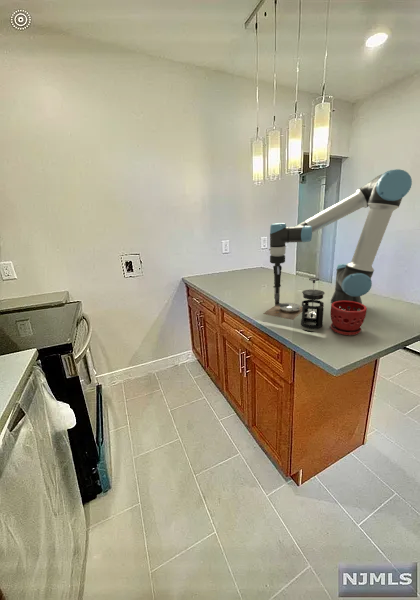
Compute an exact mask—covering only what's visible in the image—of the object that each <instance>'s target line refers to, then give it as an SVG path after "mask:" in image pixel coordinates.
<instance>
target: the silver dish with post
mask: <svg viewBox="0 0 420 600" xmlns="http://www.w3.org/2000/svg"><path fill="white" fill-rule="evenodd" d="M280 296H281V295H280V294H275V299H274V306H280V310H281V311H283V312H287V313H295V312H298V311H299V310H300V307H301V306H300V305H299V304H298V303H294V302H283V303H282V302H280V299H279V298H280Z"/></svg>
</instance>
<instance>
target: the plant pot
mask: <svg viewBox="0 0 420 600" xmlns="http://www.w3.org/2000/svg"><path fill="white" fill-rule="evenodd" d="M340 306H341V307H340ZM348 306H350V307H351V308H350V309H348V308H347V307H348ZM354 308H356V309H355V310H354ZM358 308H359V309H360V310H359V309H358ZM344 309H345V310H344ZM367 309H368V307H367V306H366V305H364V303H362V304H361V303H358V302H354V301H336V302H333V303H330V320H331V323H330V328H331V330H332V331H333V332H335V333H337V334H340V335H343V336H355V335H358V334H360V332H361V330H362V328H361V327H362V325H363V324H364V322H365V319H366V316H367Z"/></svg>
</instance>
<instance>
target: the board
mask: <svg viewBox="0 0 420 600" xmlns="http://www.w3.org/2000/svg"><path fill="white" fill-rule="evenodd" d="M301 314H302V306H300V310H299V311H298V312H295V313H287V312H283V311H281V310H280V306H275V305H273V306H272V307H270V308H269V309H267V310H266V311H264V312H263V315H267V316H272V317H276V318H280V319H281V318H282V319H288V320H292V321H294V319H295V318H297V317H298V316H299V315H301Z"/></svg>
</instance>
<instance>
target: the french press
mask: <svg viewBox="0 0 420 600" xmlns="http://www.w3.org/2000/svg"><path fill="white" fill-rule="evenodd" d="M308 280H309V281H312V289H305V290H302V292H301V293H302V297H303V299H305V300H301V301H302V302H301V307H302V312H301V320H300V325H301V327H303V328H305V329H303V328H301V329H302V331H304V332H308V333H315V331H314V330H318V329H321V328H323V323H324V322H323V320H324V311H325V310H324V309H325V308H324V305H325V304H324V302H323V301H322V300H323V298H324V295H325V294H326V293H325V292H324V291H323V290H319V289H315V283H316V282H317V281H319V280H320V279H319V278H317V277H311V278H308ZM310 303H311V305H309V304H310ZM314 303H315V304H319V305H315V306H314ZM309 310H311V311H309ZM314 310H316V311H314ZM305 322H314V323H315V324H308V323H305ZM308 329H309V330H308ZM312 330H313V331H312Z"/></svg>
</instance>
